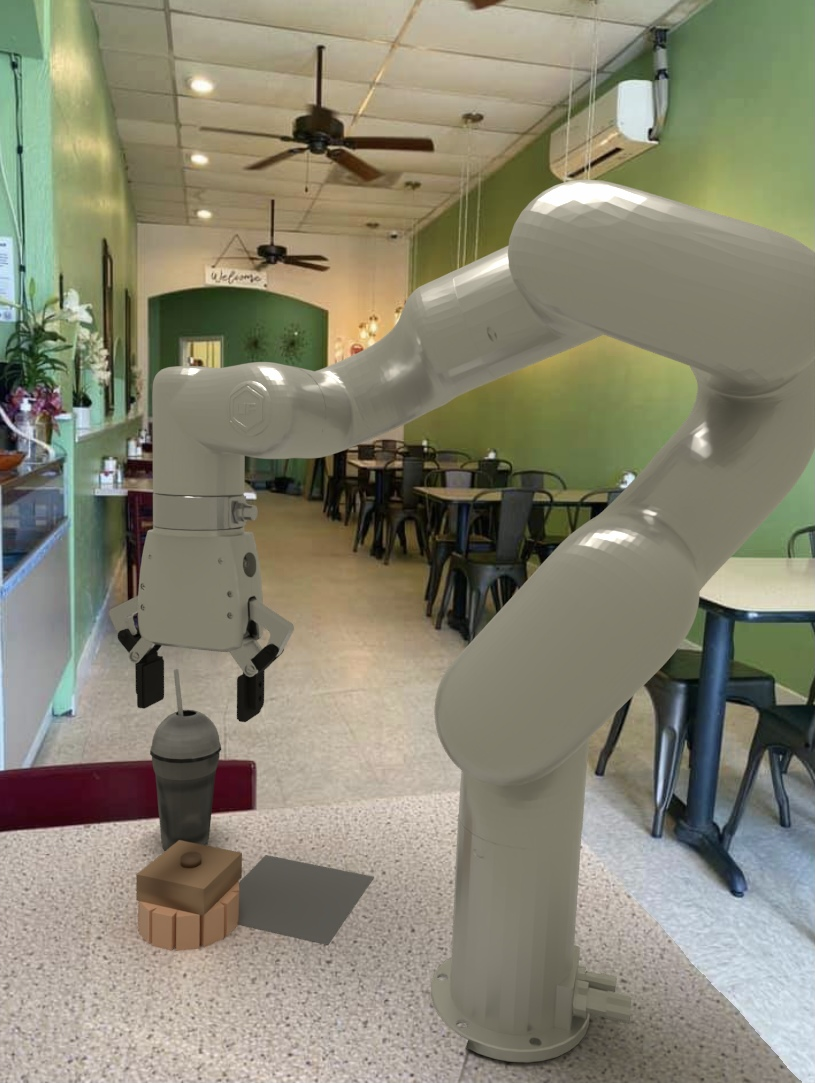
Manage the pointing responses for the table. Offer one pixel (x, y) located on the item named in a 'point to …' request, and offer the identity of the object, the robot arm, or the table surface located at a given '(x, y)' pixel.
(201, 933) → the bowl
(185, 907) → the lid
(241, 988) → the table surface
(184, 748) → the beverage cup
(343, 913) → the mat
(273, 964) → the table surface
